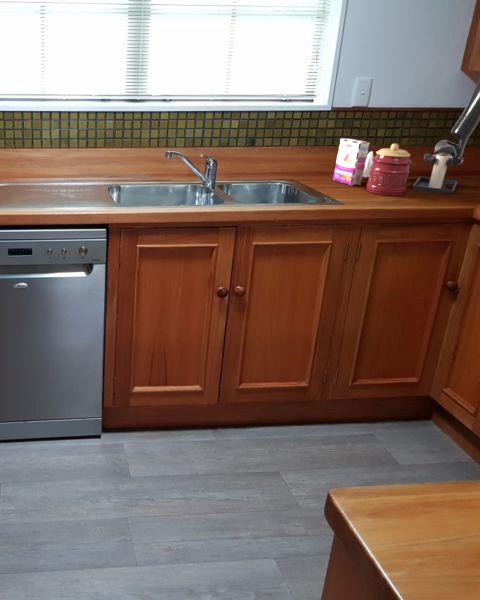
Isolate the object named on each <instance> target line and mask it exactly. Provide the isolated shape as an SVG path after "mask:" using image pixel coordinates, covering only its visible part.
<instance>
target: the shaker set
mask: <svg viewBox="0 0 480 600" xmlns="http://www.w3.org/2000/svg"><path fill="white" fill-rule="evenodd" d="M373 157H374V152H373V151H370V152H368V155H367V159H366V164H365V168H364V173H363V178H362V180H365V179H366V180H367V179H369V174H370V170H371V168H370V167H371V166H372V165H373V160H372V158H373Z"/></svg>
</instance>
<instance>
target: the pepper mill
mask: <svg viewBox="0 0 480 600" xmlns="http://www.w3.org/2000/svg"><path fill="white" fill-rule="evenodd" d="M449 157H450V156H447V155H446V153H444V152H443V153H441V154H440V155H436V159H435V163H434V164H433V167H432V171H431V175H430V177H429V178H430V182H429V187H431V188H441V187H442V183H443V179H444V180H445V176H446V173H447V168H448V166H447V163H448V159H449Z"/></svg>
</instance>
